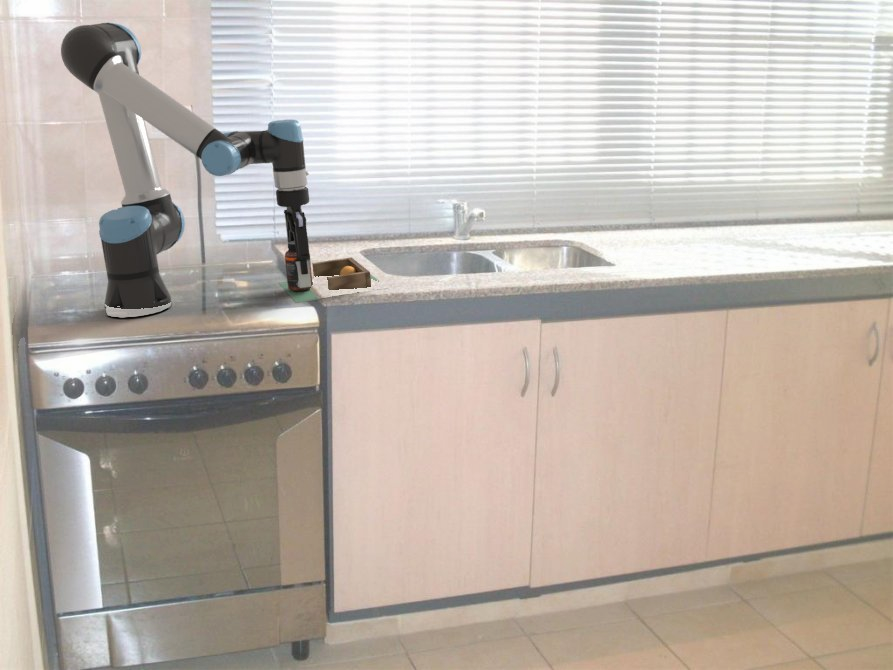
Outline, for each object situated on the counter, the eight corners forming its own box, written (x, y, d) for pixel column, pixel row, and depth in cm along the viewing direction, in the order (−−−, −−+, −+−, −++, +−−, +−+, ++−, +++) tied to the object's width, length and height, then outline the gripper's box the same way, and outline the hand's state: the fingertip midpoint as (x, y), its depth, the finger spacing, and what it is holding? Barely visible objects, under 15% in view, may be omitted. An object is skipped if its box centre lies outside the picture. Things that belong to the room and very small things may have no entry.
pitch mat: (296, 304, 256) (296, 302, 255) (279, 284, 275) (279, 282, 275) (388, 289, 262) (388, 287, 262) (365, 271, 281) (365, 269, 281)
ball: (352, 287, 268) (340, 277, 266) (345, 284, 272) (334, 274, 270) (362, 274, 269) (351, 264, 267) (355, 271, 272) (344, 261, 270)
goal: (330, 294, 260) (328, 278, 259) (313, 278, 276) (312, 263, 275) (371, 288, 263) (369, 272, 262) (353, 272, 279) (351, 257, 278)
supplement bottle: (308, 291, 263) (303, 244, 260) (284, 291, 264) (279, 245, 261) (316, 284, 269) (311, 238, 265) (293, 285, 270) (288, 239, 266)
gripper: (316, 191, 252) (326, 290, 259) (299, 180, 269) (309, 273, 276) (283, 195, 250) (294, 295, 257) (268, 184, 267) (279, 277, 274)
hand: (302, 283), depth 266 cm, fingers closed on supplement bottle, 6 cm apart
